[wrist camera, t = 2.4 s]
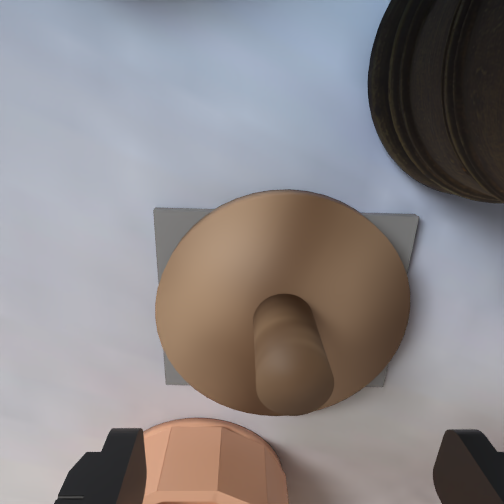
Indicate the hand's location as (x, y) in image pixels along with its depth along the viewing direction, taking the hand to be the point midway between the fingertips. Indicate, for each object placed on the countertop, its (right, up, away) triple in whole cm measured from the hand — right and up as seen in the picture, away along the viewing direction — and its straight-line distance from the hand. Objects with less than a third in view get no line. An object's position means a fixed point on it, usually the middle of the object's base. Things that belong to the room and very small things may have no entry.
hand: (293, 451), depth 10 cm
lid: (0, +3, +7) cm, 8 cm away
